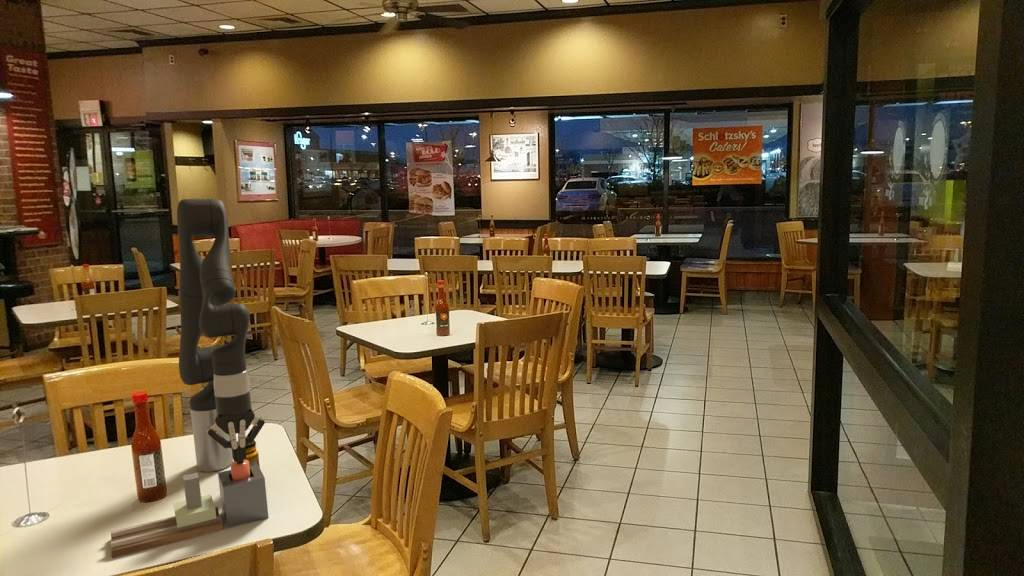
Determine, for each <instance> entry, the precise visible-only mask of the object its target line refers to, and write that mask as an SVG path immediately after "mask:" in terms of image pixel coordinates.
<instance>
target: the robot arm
mask: <svg viewBox="0 0 1024 576" xmlns="http://www.w3.org/2000/svg"><path fill="white" fill-rule="evenodd" d="M176 221H177V223H176V224H177V235H178V238H177V239H178V248H179V249H178V250H179V308H180V309H179V310H180V311H179V312H180V340H179V353H178V370H179V371H178V372H179V375H180V379H181V381H182V383H183V384H185V385H186V386H194V385H200V384H203V383H207V384H206V386H204V387H203V388H202V389H201V390H199V391H198V392H196V393H195V394H193V395H192V396H191V397H190V399H189V409H190V418H191V426H192V427H191V428H192V435H193V442H194V450H195V459H196V460H195V461H196V468H197V471H199V472H205V473H207V472H209V473H211V472H216V471H222V470H224V469H226V468H229V467H231V463H232V462H237V464H239V463H244V460H246V449H245V447H246V445H247V444H249V443H252V442H253V441H254V440H255V439H256V438H257V437H258V435H259V433H260V431H261V430H262V429H263V427H264V425H265V423H266V422H265V420H264V418H263V417H259V416H257V415H256V414H255V412H254V410H253V408H252V407H253V406H252V398H251V384H250V379H249V375H248V370H247V361H246V360H247V359H246V342H247V336H248V331H249V327H250V322H251V321H250V319H251V315H250V311H249V309H248V307H247V306H246V305H244V304H243V303H240V302H236V303H230V302H231V301H233V300H234V299H235V297H236V287H235V281H234V276H233V272H232V267H231V266H232V265H231V254H230V236H229V235H230V233H229V225H228V222H229V221H228V214H227V209H226V205H225V204H224V202H223V201H222V200H220V199H216V198H185V199H181V200H179V202H178V203H177V209H176ZM194 237H196V238H197V237H214V242H213V244H212V246H211V248H210V249H209V251H208V252H207V254H205V255H206V256H205V257H204V259H202V257H201V255H200V254H199V252H198V250H197V248H196V246H195V244H194V240H193V238H194ZM228 303H229V304H228ZM202 335H203V336H206V337H207V338H209V339H210V338H211V339H212V338H219V337H227V336H233V338H232V339H231V340H230V341H228V342H227V343H225V344H222V345H219V346H217V345H213V346H207V347H202V348H201V347H200V348H198V346H199V341H200V339H201V337H202ZM251 424H252V428H251V429H250V430H249V428H250V426H251ZM248 430H249V432H248V433H247V434H246V431H248ZM237 437H238V438H237ZM237 441H238V443H239V445H237Z"/></svg>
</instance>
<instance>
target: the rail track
mask: <svg viewBox="0 0 1024 576" xmlns="http://www.w3.org/2000/svg"><path fill="white" fill-rule="evenodd" d="M214 506H215V510H216V519H212V520H208V521H204V522H200V523H196V524H192V525H188V526H184V527H179V528H177V522H176V517H175V515H174V516H170V517H166V518H162V519H157V520H154V521H149V522H145V523H140V524H137V525H133V526H128V527H124V528H120V529H115V530H112V531H110V537H111V539H110V549H111V550H110V553H111V558H113V559H114V558H116V557H121V556H125V555H128V554H133V553H136V552H140V551H144V550H148V549H151V548H155V547H159V546H160V547H161V546H163V545H168V544H172V543H175V542H180V541H184V540H188V539H191V538H194V537H199V536H203V535H207V534H210V533H215V532H218V531H223V529H224V528H223V521H222V517H221V514H220V512H219V506H218V505H214Z"/></svg>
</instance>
